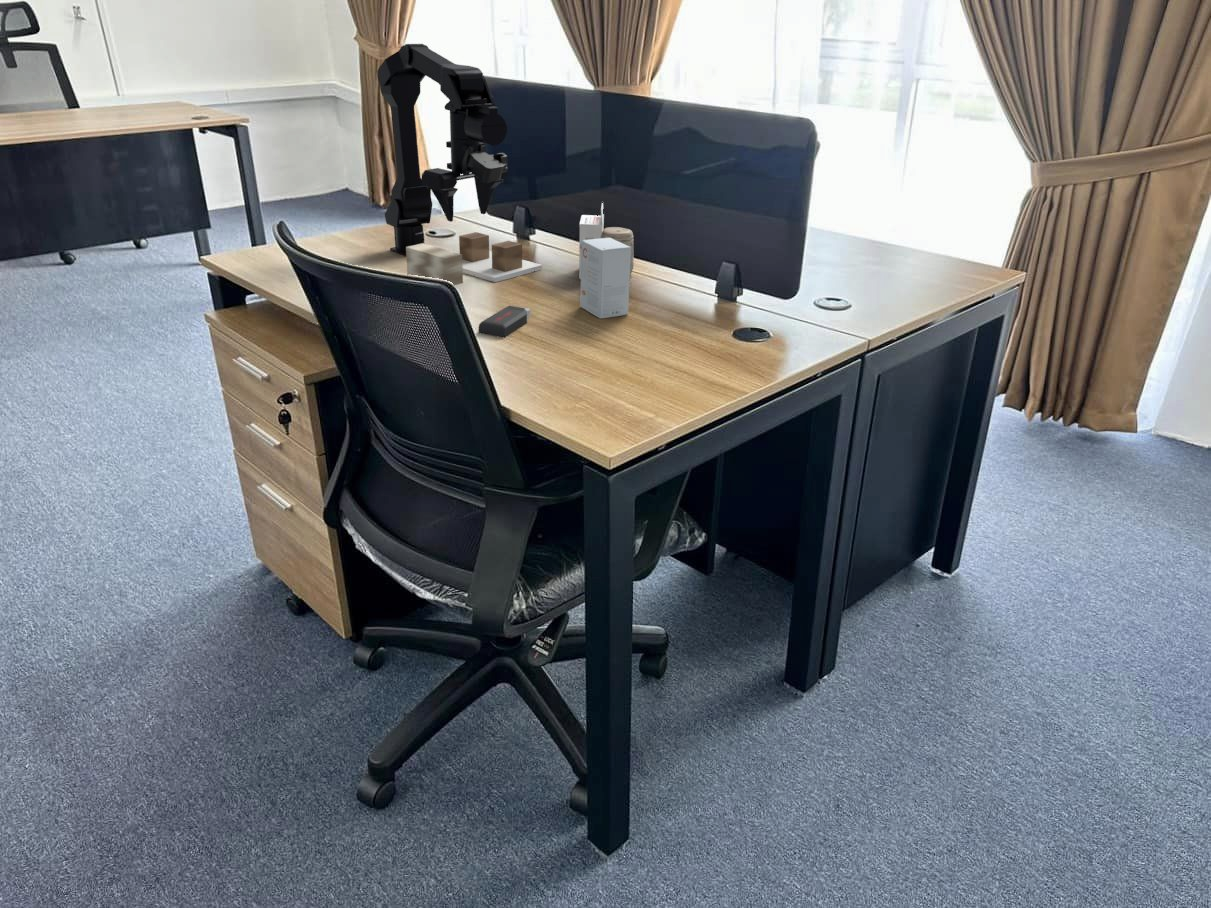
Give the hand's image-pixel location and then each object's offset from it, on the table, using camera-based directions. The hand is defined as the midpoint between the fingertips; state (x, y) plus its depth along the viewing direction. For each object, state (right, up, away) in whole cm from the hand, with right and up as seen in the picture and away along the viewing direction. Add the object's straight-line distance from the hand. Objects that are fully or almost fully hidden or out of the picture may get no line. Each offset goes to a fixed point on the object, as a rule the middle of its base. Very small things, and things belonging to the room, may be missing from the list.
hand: (466, 217), depth 190 cm
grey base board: (+3, -8, +13) cm, 15 cm away
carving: (+30, -14, +3) cm, 33 cm away
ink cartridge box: (+25, -10, +11) cm, 29 cm away
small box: (+28, -21, -11) cm, 36 cm away
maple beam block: (-7, -12, +4) cm, 14 cm away
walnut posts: (+3, -8, +13) cm, 15 cm away
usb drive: (+10, -25, -20) cm, 34 cm away
